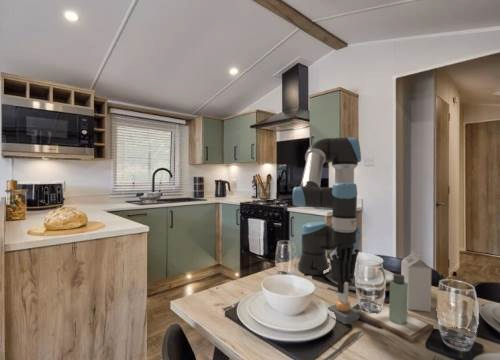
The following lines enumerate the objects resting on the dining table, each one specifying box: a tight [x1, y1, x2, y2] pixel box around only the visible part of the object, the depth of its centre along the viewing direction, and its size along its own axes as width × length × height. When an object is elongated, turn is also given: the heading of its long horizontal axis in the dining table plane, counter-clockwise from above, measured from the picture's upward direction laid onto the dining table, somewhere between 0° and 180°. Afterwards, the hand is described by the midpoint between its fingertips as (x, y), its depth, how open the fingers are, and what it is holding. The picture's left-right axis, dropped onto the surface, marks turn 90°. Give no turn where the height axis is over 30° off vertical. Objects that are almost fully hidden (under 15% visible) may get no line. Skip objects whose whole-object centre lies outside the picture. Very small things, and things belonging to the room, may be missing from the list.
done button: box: [335, 299, 351, 312], centre depth 86 cm, size 4×4×2 cm
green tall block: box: [388, 273, 408, 325], centre depth 82 cm, size 4×4×14 cm
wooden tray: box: [357, 303, 434, 344], centre depth 84 cm, size 18×13×2 cm
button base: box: [327, 304, 360, 325], centre depth 86 cm, size 7×7×2 cm
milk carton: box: [400, 250, 432, 313], centre depth 94 cm, size 7×7×19 cm
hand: (343, 301), depth 86 cm, fingers closed
